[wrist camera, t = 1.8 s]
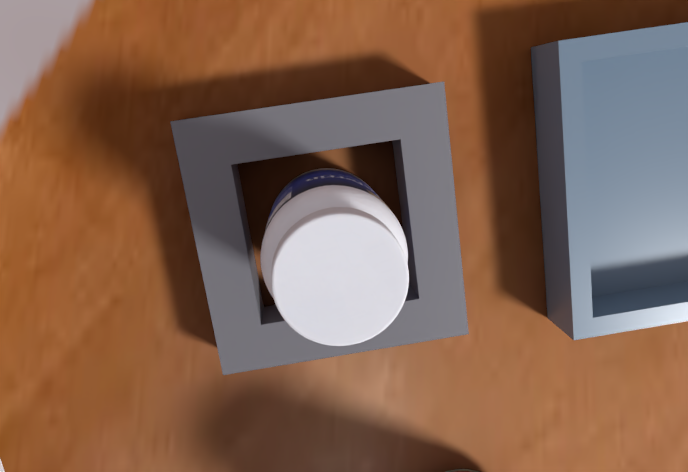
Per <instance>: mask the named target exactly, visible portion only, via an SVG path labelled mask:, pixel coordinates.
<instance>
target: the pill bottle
mask: <svg viewBox="0 0 688 472" xmlns="http://www.w3.org/2000/svg"><path fill="white" fill-rule="evenodd" d="M261 269H262V274H263V278H264V281H265V284H266V286H267V288H268V290H269V292H270V294H271V295H272V297H273V298H274V302H275V304H276V307H277V309H278V311H279V312H280V314H281V316H282V317H283V319H284V320H285V321H286V322H287V323H288V325H289V326H290V327H291V328H293V329H294V330H295V331H296V332H297V333H299V334H300V335H302V336H303V337H305V338H307V339H309V340H312V341H314V342H317V343H320V344H325V345H331V346H346V345H353V344H357V343H361V342H364V341H366V340H368V339H371V338H373V337H374V336H376V335H378V334H379V333H381V332H382V331H383V330H384V329H386V328H387V327H388V326H389V325H390V324H391V323H392V322H393V320H394V319H395V318H396V317H397V315H398V314H399V312H400V310H401V308H402V307H403V304H404V302H405V299H406V296H407V292H408V286H409V270H408V249H407V243H406V238H405V235H404V232H403V230H402V227H401V225H400V223H399V221H398V220H397V218H396V217H395V215H394V213H393V212H392V211H391V210H390V208H389V207H388V206H387V205H386V204H385V203H384V202H383V201H382V200H381V198H380V197H379V196H378V195H377V194H376V193H375V192H374V191H373V190H372V189H371V187H370V186H369V185H368V184H366V183H365V182H364V181H363V180H362V179H360V178H359V177H357V176H355V175H353V174H352V173H349V172H346V171H343V170H339V169H332V168H321V169H315V170H311V171H308V172H305V173H303V174H301V175H299V176H297V177H296V178H294V179H293V180H291V181H290V182H289V183H288V184H287V185H286V186H285V187H284V188H283V189H282V190H281V192H280V193H279V195H278V196H277V198H276V199H275V201H274V204H273V206H272V209H271V212H270V215H269V219H268V222H267V226H266V230H265V233H264V236H263V240H262V247H261Z"/></svg>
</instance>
